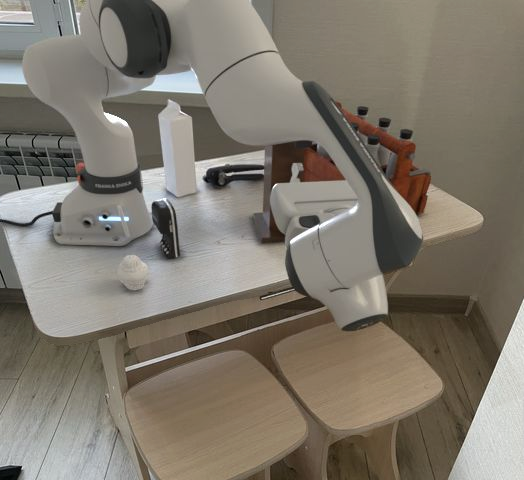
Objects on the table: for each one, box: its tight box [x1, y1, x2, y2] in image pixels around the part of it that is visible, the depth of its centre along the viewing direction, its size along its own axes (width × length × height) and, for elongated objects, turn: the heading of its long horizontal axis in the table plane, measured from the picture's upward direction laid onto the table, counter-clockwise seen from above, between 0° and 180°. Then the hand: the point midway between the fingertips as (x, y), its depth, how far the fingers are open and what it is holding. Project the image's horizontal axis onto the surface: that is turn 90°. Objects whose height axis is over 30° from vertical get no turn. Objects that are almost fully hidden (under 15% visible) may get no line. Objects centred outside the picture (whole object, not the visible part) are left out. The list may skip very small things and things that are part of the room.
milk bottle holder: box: [302, 100, 432, 214], centre depth 126 cm, size 21×35×19 cm, turn 26°
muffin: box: [116, 254, 150, 291], centre depth 97 cm, size 6×6×7 cm
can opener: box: [202, 163, 264, 189], centre depth 134 cm, size 18×7×6 cm, turn 114°
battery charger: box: [150, 198, 181, 259], centre depth 106 cm, size 7×4×11 cm, turn 25°
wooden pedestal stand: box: [252, 141, 313, 245], centre depth 108 cm, size 12×12×29 cm
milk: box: [157, 98, 198, 198], centre depth 124 cm, size 6×6×22 cm
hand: (323, 164), depth 83 cm, fingers open, 8 cm apart
